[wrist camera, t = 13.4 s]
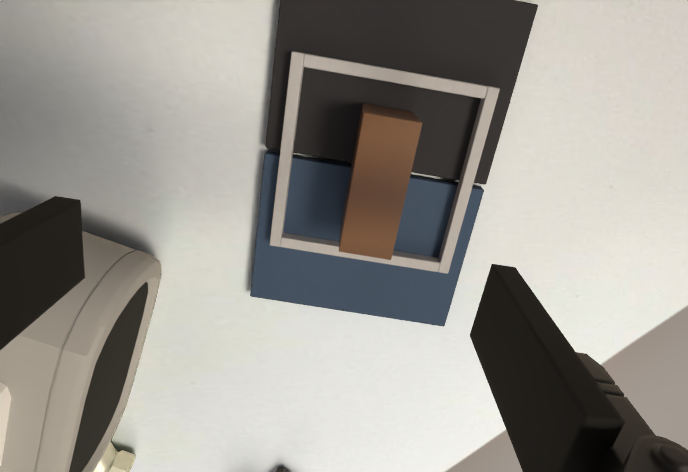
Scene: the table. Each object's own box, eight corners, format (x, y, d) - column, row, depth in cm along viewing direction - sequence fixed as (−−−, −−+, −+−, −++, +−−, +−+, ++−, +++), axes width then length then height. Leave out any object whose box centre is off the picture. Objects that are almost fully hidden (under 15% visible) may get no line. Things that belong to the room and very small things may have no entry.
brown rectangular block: (362, 102, 32) (363, 112, 27) (412, 111, 32) (422, 122, 27) (340, 224, 35) (338, 252, 30) (386, 232, 35) (391, 260, 30)
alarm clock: (126, 420, 44) (36, 568, 32) (24, 389, 43) (-111, 530, 30) (178, 232, 37) (88, 328, 24) (57, 189, 35) (-104, 266, 23)
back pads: (286, -40, 29) (282, -46, 28) (533, 5, 30) (544, 3, 28) (252, 290, 38) (247, 303, 37) (442, 320, 39) (446, 333, 37)
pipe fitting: (70, 390, 43) (49, 443, 45) (45, 419, 40) (24, 475, 41) (152, 422, 44) (129, 472, 46) (135, 453, 41) (111, 506, 43)
